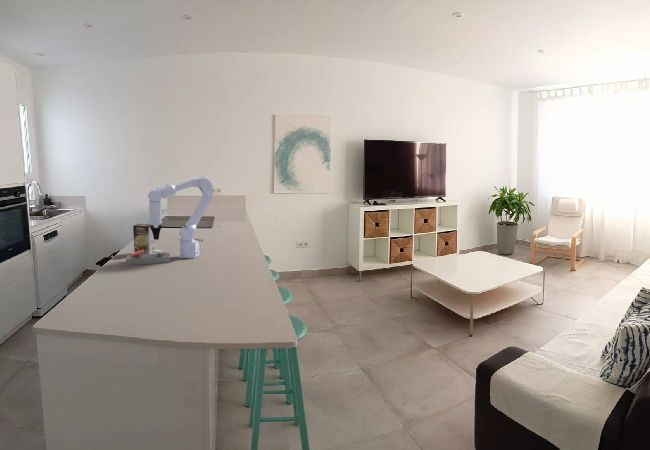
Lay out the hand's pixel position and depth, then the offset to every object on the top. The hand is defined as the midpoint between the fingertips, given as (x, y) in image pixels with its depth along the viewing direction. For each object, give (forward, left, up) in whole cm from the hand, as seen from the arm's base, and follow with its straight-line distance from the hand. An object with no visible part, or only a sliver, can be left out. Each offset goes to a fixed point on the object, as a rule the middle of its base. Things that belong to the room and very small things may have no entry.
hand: (156, 239), depth 207 cm
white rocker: (-2, +2, -6) cm, 7 cm away
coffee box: (+12, -11, -11) cm, 19 cm away
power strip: (+2, +6, -10) cm, 12 cm away
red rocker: (+7, +6, -6) cm, 11 cm away
